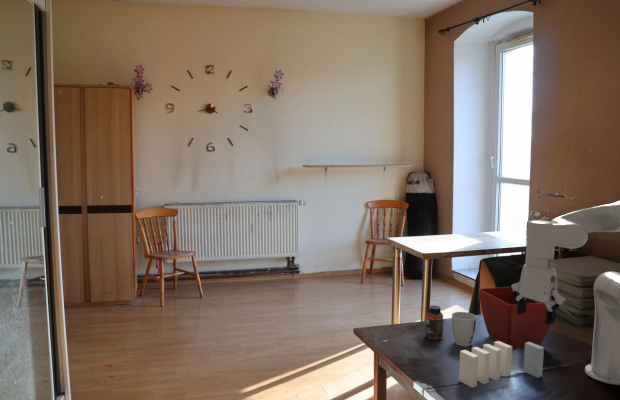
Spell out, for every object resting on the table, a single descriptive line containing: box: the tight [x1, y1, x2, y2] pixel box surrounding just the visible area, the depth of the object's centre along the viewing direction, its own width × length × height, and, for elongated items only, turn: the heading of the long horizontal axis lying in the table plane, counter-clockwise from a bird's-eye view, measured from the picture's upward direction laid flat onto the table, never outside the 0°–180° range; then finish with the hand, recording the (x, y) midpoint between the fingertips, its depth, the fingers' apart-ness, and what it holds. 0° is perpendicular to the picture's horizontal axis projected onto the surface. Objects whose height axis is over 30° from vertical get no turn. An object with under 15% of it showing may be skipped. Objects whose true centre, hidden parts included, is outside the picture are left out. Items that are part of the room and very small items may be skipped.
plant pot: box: [478, 286, 557, 350], centre depth 179 cm, size 19×19×17 cm
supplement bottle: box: [425, 304, 444, 341], centre depth 181 cm, size 6×6×11 cm
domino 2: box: [471, 346, 490, 385], centre depth 149 cm, size 5×2×9 cm, turn 30°
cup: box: [451, 311, 477, 347], centre depth 176 cm, size 8×8×10 cm
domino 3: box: [482, 343, 501, 381], centre depth 152 cm, size 5×2×9 cm, turn 30°
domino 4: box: [493, 340, 513, 378], centre depth 154 cm, size 5×2×9 cm, turn 30°
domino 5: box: [523, 342, 545, 379], centre depth 154 cm, size 5×2×9 cm, turn 30°
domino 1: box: [458, 349, 478, 388], centre depth 147 cm, size 5×2×9 cm, turn 30°
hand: (535, 318), depth 152 cm, fingers open, 9 cm apart
